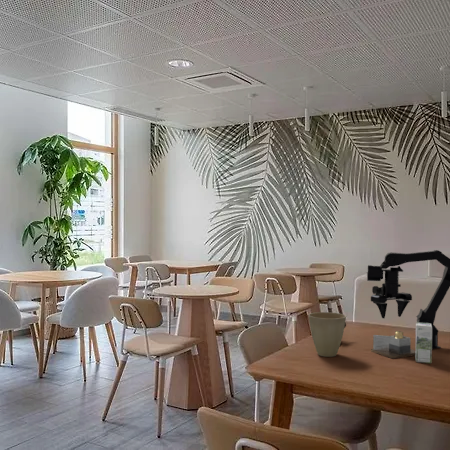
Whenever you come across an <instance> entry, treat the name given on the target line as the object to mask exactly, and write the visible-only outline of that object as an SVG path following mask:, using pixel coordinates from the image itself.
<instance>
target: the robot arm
mask: <svg viewBox="0 0 450 450" xmlns="http://www.w3.org/2000/svg"><path fill="white" fill-rule="evenodd" d="M425 261H437V262H438V263H440V264H441V265H442V266H444V269H443V273H442V278H441V280H440V282H439V284H438V285H437V287H436V289H435V292H434V293H433V294H432V297H431V298H430V301H429V302H428V304H427V306H426V308H424V309H422V308H420V309H419V312H418V314H417V315H416V316H415V317H416V323H431V325H432V350H435V349H436V350H437V349H441V346H440V345H439V344H438V343H439V340H438V339H439V329H438V328H437V327H436V326H435V325H434V324H435V323H434V322H435V321H436V315H437V311H438V310H439V308H440V306H441V304H442V303H443V300H444V298H445V297H446V295H447V293H448V291H449V289H450V257H448V256H447V255H445V254H444V253H443V252H442V251H440V250H439V249H438V250H437V249H436V250H435V249H434V250H428V251H420V252H410V253H409V252H408V253H403V252H387V253H386V255H384V261H383V262H381V264H380V265H370V264H368V265H367V272H366V276H367V277H366V281H367V282H381V280H383V279H384V283H382V285H381V286H380V287H379V286H378V285H375V286H372V290H371V291H372V295H371V296H370V302H372V303H373V304H375V305H376V306H377V308H378V310H379V313H380V316H381V318H382V319H385V318H386V313H387V307H388V303H387V301H391V300H392V301H393V300H395V302H396V303H397V317H399V318H400V317H401V316H402V315H403V312H404V311H405V309H406V307H407V306H408V304H409V303H410V302H411V301H413V295H412V294H411V293H410V292H409V293H408V292H399V287H401V284H400V283H399V277H400V276H399V273H401V272H402V273H403V272H404V270H403V269H402V267H401V265H404V264H406V263H407V264H408V263H414V262H415V263H417V262H425ZM388 268H389V269H388Z"/></svg>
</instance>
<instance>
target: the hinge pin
mask: <svg viewBox="0 0 450 450" xmlns="http://www.w3.org/2000/svg"><path fill="white" fill-rule="evenodd" d="M394 334H395V337H396V338H399V339H400V338H403V336H404V332H403V331H400V330H397V331H395V332H394Z"/></svg>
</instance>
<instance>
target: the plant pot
mask: <svg viewBox="0 0 450 450" xmlns="http://www.w3.org/2000/svg"><path fill="white" fill-rule="evenodd" d="M346 319H347V315H345V314H344V313H338V312H327V311H325V312H321V311H318V312H311V313H308V322H309V323H308V324H309V329H310V333H311V337H312V341H313V344H314V348H315V350H316V351H315V352H316V353H317V355H318V356H321V357H326V358H327V357H329V358H333V357H336V356H337V354H338V351H339V349H340V346H341V344H342V340H343V336H344V330H345V328H346V327H345V322H346V321H347V320H346ZM344 327H345V328H344Z"/></svg>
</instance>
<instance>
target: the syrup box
mask: <svg viewBox="0 0 450 450" xmlns="http://www.w3.org/2000/svg"><path fill="white" fill-rule="evenodd" d="M415 350H416V352H415V355H414V357H415V362H416V363H423V364H432V362H433V361H432V360H433V358H432V357H433V353H432V352H433V349H432V325H431V323H417V322H415Z"/></svg>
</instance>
